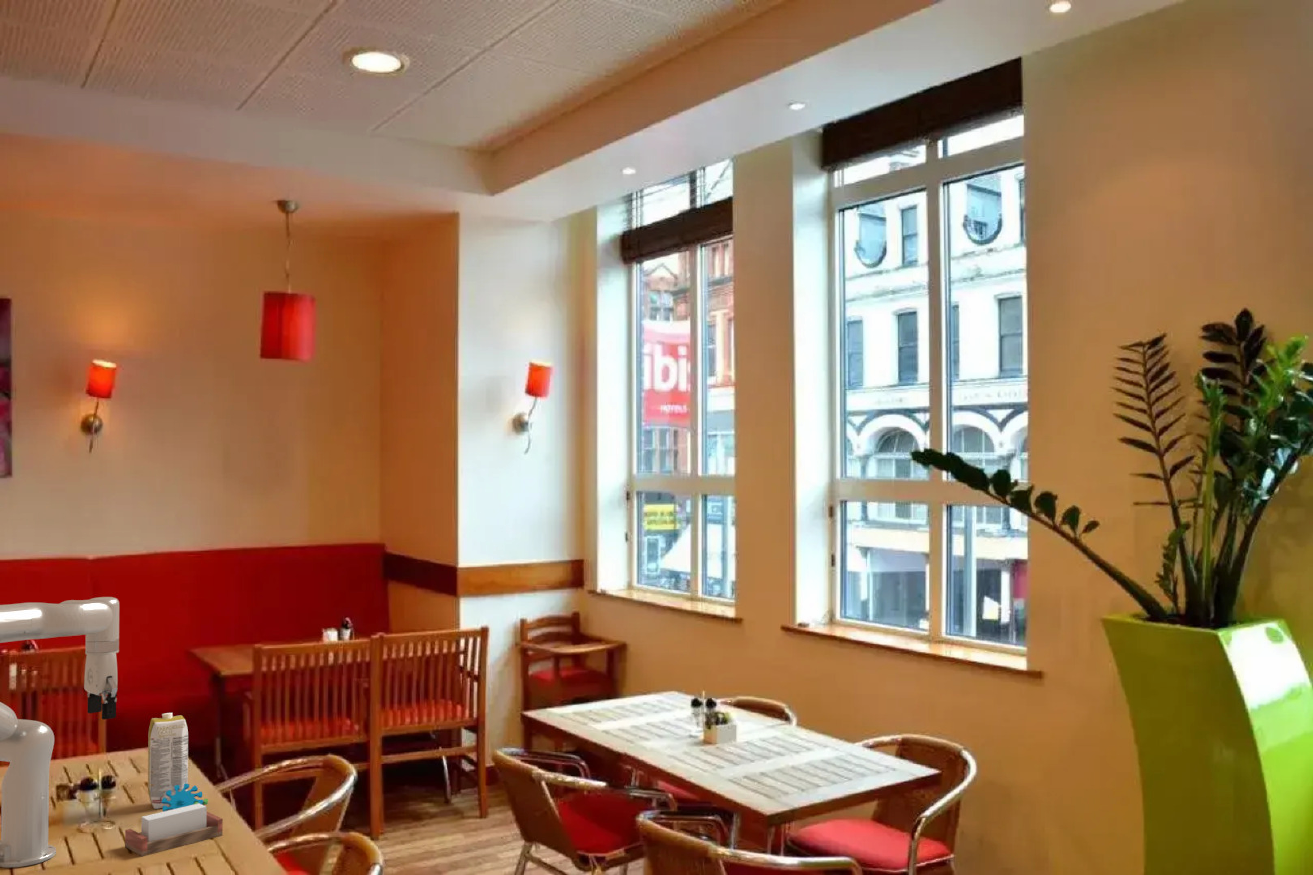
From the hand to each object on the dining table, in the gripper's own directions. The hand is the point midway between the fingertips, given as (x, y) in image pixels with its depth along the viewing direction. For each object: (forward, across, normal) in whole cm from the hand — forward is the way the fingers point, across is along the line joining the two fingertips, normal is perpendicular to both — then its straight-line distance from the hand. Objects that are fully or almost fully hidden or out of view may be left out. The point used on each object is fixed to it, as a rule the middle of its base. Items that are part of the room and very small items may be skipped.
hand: (101, 715), depth 277 cm
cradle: (+28, +23, +9) cm, 37 cm away
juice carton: (+28, -8, +20) cm, 35 cm away
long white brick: (+27, +23, +9) cm, 37 cm away
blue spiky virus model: (+28, +6, +19) cm, 34 cm away
